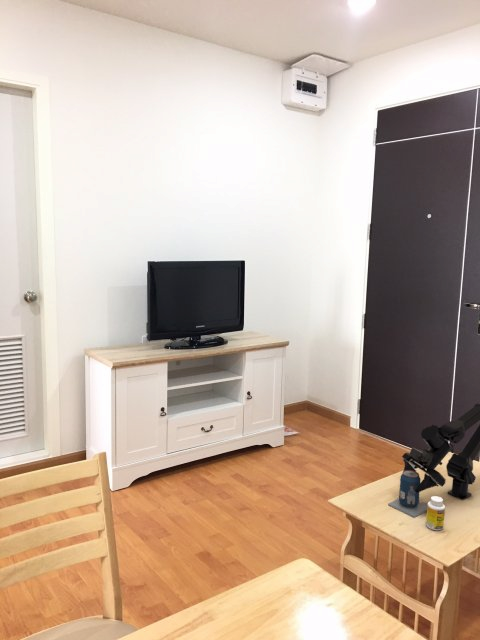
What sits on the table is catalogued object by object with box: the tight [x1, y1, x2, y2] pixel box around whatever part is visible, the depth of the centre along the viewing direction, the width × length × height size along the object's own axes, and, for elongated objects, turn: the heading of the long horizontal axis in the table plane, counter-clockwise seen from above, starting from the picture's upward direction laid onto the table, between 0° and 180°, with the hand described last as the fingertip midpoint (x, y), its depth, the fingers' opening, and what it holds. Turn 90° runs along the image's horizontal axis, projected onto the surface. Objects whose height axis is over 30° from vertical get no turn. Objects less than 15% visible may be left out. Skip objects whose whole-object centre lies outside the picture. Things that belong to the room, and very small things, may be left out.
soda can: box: [398, 470, 422, 508], centre depth 194 cm, size 7×7×12 cm
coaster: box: [387, 498, 428, 519], centre depth 194 cm, size 11×11×1 cm
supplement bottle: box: [425, 495, 446, 531], centre depth 180 cm, size 6×6×10 cm
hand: (408, 486), depth 192 cm, fingers open, 8 cm apart
